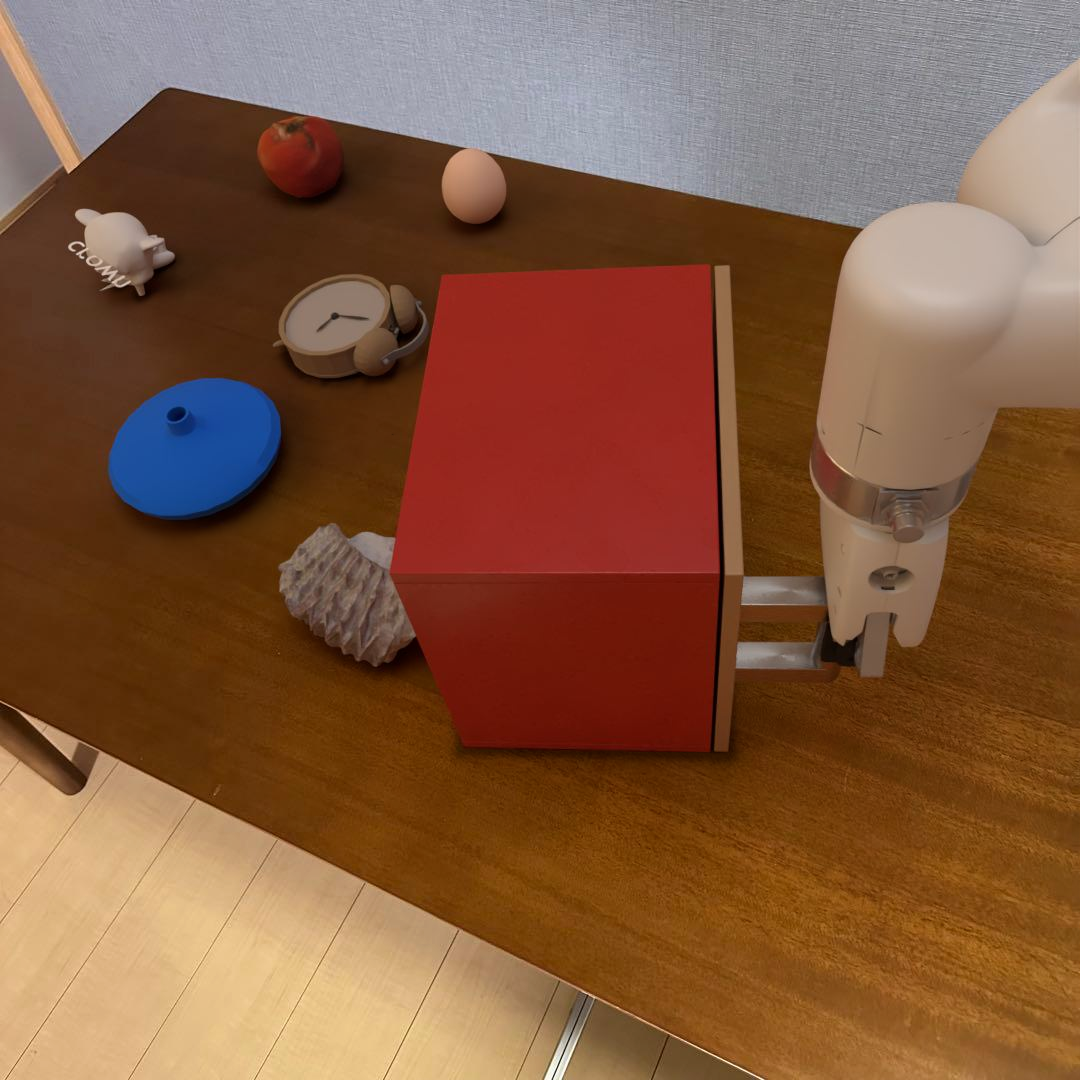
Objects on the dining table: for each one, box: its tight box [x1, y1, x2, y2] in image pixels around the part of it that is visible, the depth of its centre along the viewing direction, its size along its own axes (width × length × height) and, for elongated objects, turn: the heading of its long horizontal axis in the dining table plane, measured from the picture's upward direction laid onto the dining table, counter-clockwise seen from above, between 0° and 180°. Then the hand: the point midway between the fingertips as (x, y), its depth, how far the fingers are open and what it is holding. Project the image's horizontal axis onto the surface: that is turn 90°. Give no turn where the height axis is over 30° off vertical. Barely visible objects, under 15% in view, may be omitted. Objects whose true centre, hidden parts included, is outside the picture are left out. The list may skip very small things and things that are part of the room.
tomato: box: [257, 115, 345, 199], centre depth 115 cm, size 9×9×8 cm
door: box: [712, 264, 843, 753], centre depth 71 cm, size 8×24×24 cm, turn 176°
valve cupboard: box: [389, 263, 720, 753], centre depth 73 cm, size 18×24×24 cm
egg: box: [441, 147, 507, 225], centre depth 108 cm, size 7×7×8 cm
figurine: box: [67, 208, 176, 297], centre depth 109 cm, size 12×8×10 cm
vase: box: [107, 377, 282, 521], centre depth 93 cm, size 16×16×7 cm
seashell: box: [277, 522, 417, 667], centre depth 82 cm, size 14×9×10 cm
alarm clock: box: [272, 273, 430, 379], centre depth 101 cm, size 11×5×15 cm
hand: (844, 636), depth 65 cm, fingers closed on door, 2 cm apart
